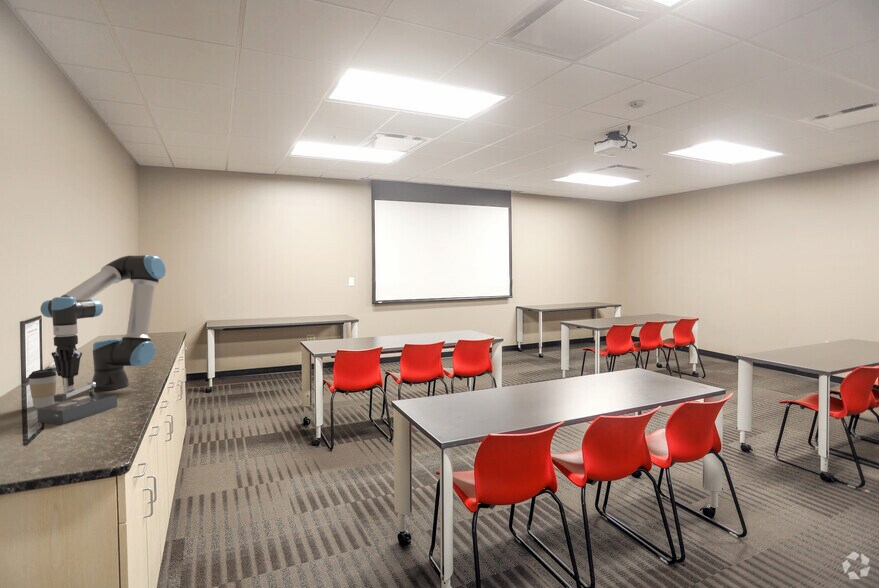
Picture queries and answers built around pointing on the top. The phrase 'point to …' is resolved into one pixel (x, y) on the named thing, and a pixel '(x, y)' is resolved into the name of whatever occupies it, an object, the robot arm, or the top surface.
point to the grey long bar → (74, 391)
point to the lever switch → (77, 408)
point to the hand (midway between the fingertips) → (68, 393)
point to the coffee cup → (43, 387)
